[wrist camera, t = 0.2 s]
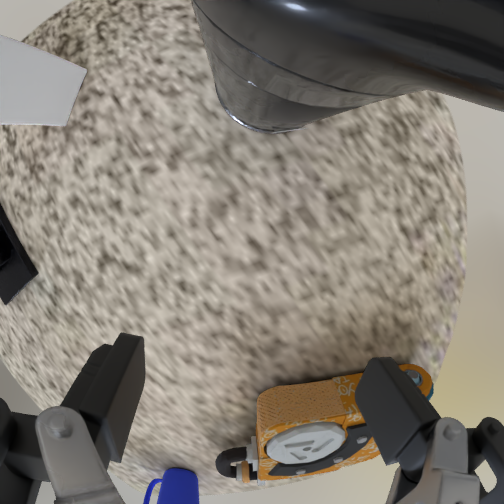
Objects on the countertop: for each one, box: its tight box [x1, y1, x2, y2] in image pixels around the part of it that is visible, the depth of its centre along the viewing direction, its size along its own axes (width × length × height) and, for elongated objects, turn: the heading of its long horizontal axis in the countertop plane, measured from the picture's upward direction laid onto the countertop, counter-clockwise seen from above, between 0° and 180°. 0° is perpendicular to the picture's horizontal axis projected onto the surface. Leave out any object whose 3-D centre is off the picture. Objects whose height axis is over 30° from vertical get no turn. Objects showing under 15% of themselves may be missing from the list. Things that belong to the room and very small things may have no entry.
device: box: [215, 364, 433, 486], centre depth 32 cm, size 23×8×30 cm
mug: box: [143, 468, 199, 504], centre depth 37 cm, size 8×12×10 cm
